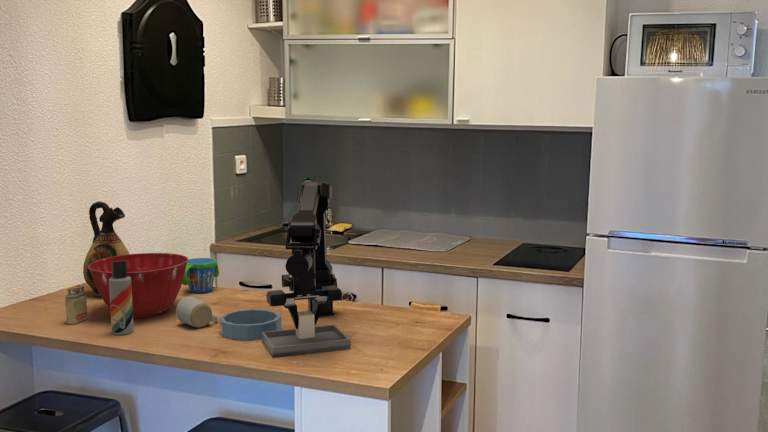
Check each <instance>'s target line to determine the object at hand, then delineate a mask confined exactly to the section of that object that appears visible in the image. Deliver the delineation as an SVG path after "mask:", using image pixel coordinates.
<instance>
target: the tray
mask: <svg viewBox="0 0 768 432" xmlns="http://www.w3.org/2000/svg"><path fill="white" fill-rule="evenodd" d="M261 334H262V339H261V343H262V344H263V345H264V347H265V348H266V349H267V351H268V353H269V354H270V355H271V357H272V358H280V357H281V358H282V357H289V356H297V355H306V354H307V355H308V354H316V353H318V354H319V353H325V352H333V351H335V352H336V351H343V350H351V338H349V336H348V335H346V334H345V333H344V332H343V330H341V329H340V328H339V327H338V326H337V325H336V324H328V325H317V326H316V325H315V337H313V338H304V339H299V338H298V337H297V335H296V328H287V329H281V330H277V331H267V332H261Z"/></svg>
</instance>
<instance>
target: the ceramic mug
mask: <svg viewBox="0 0 768 432" xmlns="http://www.w3.org/2000/svg"><path fill="white" fill-rule="evenodd" d="M175 314H176V318H177V320H179V321H180V322H181V323H183V324H186V325H188V326H190V327H193V328H196V329H198V328H203V327H206V326H207V325H208V324H210V322H213V323H217V322H218V320H219V317H218V316H216V315H214V314H213V310H212V308H211V307H210V305H208V304H207V303H206V302H204V301H203V300H201V299H198V298H196V297H194V296H191V295H190V296H186V297H183V298H181V300H180V301H179V302H178V303H177V306H176V309H175Z"/></svg>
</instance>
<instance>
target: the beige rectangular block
mask: <svg viewBox="0 0 768 432" xmlns="http://www.w3.org/2000/svg"><path fill="white" fill-rule="evenodd" d="M297 312H298V329H296V328H295V329H296V335H297V337H298V338H299V339H304V338H313V337H315V327H316V325H315V320H314V314H313V313H312V312H311V311H308V310H305V311H304V310H302V311H297Z"/></svg>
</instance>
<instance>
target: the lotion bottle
mask: <svg viewBox="0 0 768 432" xmlns="http://www.w3.org/2000/svg"><path fill="white" fill-rule="evenodd" d="M109 291H110V309H109V310H110V324H111V333H112V334H113V335H116V336H123V335H124V336H125V335H130V334H132V333H133V332H134V318H133V307H132V287H131V277H129V276H127V262H126V261H118V262H112V278H110V279H109Z"/></svg>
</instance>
